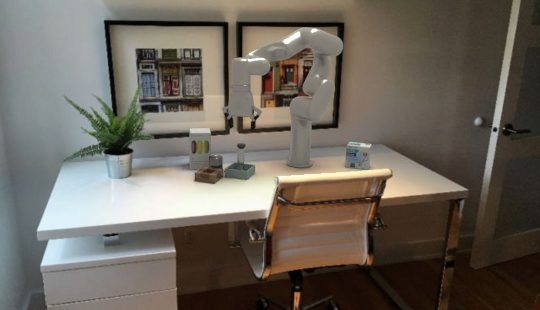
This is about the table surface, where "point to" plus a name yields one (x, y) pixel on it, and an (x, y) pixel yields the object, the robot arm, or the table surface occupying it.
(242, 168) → the pin
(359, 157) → the light bulb box
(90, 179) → the table surface
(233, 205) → the table surface
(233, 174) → the tray
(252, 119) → the robot arm
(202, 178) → the brown square open box
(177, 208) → the table surface
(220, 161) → the grey cylinder
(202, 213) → the table surface
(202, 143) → the supplement box
